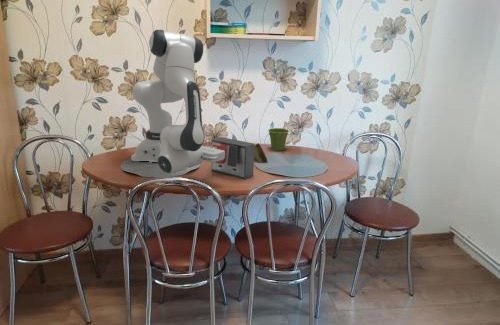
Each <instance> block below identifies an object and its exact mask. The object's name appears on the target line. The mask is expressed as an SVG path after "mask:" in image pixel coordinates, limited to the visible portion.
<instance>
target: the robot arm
mask: <svg viewBox="0 0 500 325" xmlns="http://www.w3.org/2000/svg"><path fill="white" fill-rule="evenodd" d="M148 45H149V51H150V53H151V54H152V55H153V56H155V60H154V63H153V68H152V70H153V74H154V75H155V76H156V77H157V79H158V80H143V81H139V82H136V83H135V84H134V85H133V86H132V92H131V93H132V97H133V99H134V100H135V101H136V102H137V103H138V104H139V105H140V106H141V107H143V108H144V109H145V111H146V114H147V117H148V125H149V129H147V130H146V133H145V137H146V138H145V139H143V140H142V141H141V142H140V143H139V144H137V146H136V147H135V152H134V153H133V154H131V157H130V160H131V161H132V162H139V161H149V162H148V163H152V162H158V163H157V164H158V166H159V168H160V170H162V171H163V172H164V173H167V174H174V173H179V172H181V171H185V170H186V169H188V168H189V169H190V168H193V167H195V166H199V165H201V164H202V163H203V161H206V162H211V163H212V162H216V161H220V160H223V159H225V151H224V150H220V149H217V147H214V146H212V145H209V146H206V145H205V146H204V142H205V138H206V137H205V131H204V128H203V127H204V126H203V118H202V117H203V116H202V103H201V102H202V100H201V92H200V87H199V86H198V84H197V83H196V82H195V64H197V63H199V62H200V61H201V60H202V57H203V55H204V44H203V41H202V40H201V39H199V38H198V37H195V36H194V37H193V36H190V35H188V34H184V33H180V32H174V31H170V30H169V31H167V30H164V29H155V30H153V31H152V33H151V35H150V36H149V40H148ZM183 99H184V103H185V122H184V124H174V125H173V117H172V114H171V113H170V112H169V111H167V110H165V109H163V108H162V105H161V104H167V103H176V102H178V101H182V100H183Z"/></svg>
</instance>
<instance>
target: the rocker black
mask: <svg viewBox="0 0 500 325" xmlns="http://www.w3.org/2000/svg"><path fill="white" fill-rule="evenodd" d="M238 147H239V146H234V145H229V153H228V162H227V165H228V166H232V167H236V163H237V155H238Z"/></svg>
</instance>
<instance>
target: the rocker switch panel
mask: <svg viewBox="0 0 500 325" xmlns="http://www.w3.org/2000/svg"><path fill="white" fill-rule="evenodd" d="M213 144H219V145H222V150H224V151H225V159H223V162H224V163H223V164H219V163H215V162H211V172H215V173H219V174H223V175H227V176H230V177H234V178H238V179H240V180H241V179H242V180H247V179H250V178H252V177H254V166H255V165H254V164H255V159H254V146H255V143H253V142H249V141H248V142H247V141H243V140H238V139H233V138H227V137H223V136H218V137H215V138H212V139H211V146H213ZM229 145H234V146H239V147H238V155H237V163H236V167H232V166H228V165H227V162H228V153H229Z"/></svg>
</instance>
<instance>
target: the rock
mask: <svg viewBox="0 0 500 325" xmlns="http://www.w3.org/2000/svg"><path fill="white" fill-rule="evenodd" d="M254 161H257V162H258V163H261V162H268V163H269V161H268V157H267V156H266V153H265V151H264V149H263V148H262V146H261V145H260V142H258V143H256V144H254Z"/></svg>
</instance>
